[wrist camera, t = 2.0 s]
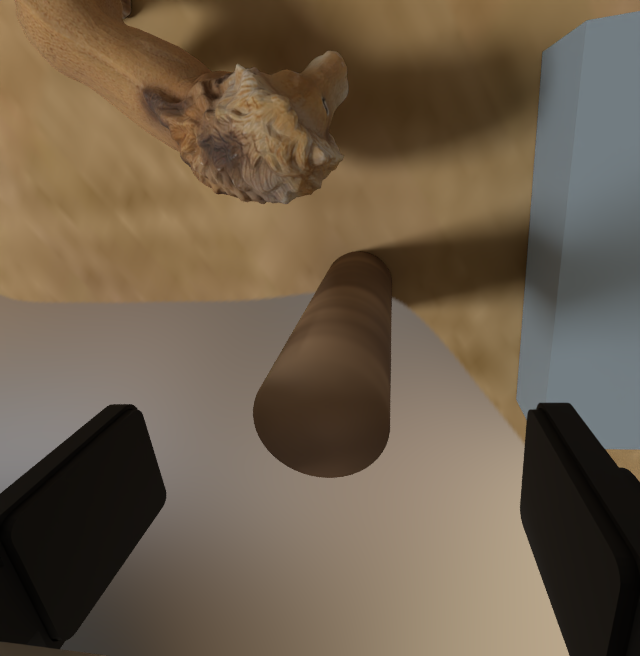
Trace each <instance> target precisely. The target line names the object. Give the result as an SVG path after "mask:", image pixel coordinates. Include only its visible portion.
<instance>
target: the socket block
mask: <svg viewBox="0 0 640 656" xmlns="http://www.w3.org/2000/svg"><path fill="white" fill-rule="evenodd" d="M516 400H517V402H518V404H519V406H520V408H521V410H522V412H523V414H524V416H525V418H526V420H527V414H528V411H529V410H530V409H536V408H537V405H538V404H539V403H570V404H571V405H572V406H573V407H574V409H575V410H576V411H577V413H578V414H579V415H580V417H581V418H582V419H583V421H584V422H585V423H586V425H587V426H588V427H589V429H590V430H591V431H592V433H593V434H594V435H595V437H596V438H597V439H598V441H599V442H600V443H601V445H602V446H603V447H604V449H640V11H638V12H632V13H627V14H621V15H615V16H609V17H604V18H598V19H592V20H587V21H585V22H584V23H582V24H581V25H580V26H578V27H577V28H575V29H574V30H573V31H571V32H570V33H569V34H567V35H566V36H564V37H563V38H562V39H560V40H559V41H557V42H556V43H555V44H553V45H552V46H550V47H549V48H548V49H546V50H545V51H543V53H542V67H541V80H540V93H539V107H538V120H537V133H536V146H535V160H534V173H533V186H532V199H531V213H530V226H529V239H528V253H527V266H526V279H525V292H524V306H523V319H522V332H521V346H520V359H519V372H518V385H517V399H516Z"/></svg>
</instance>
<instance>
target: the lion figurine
mask: <svg viewBox="0 0 640 656" xmlns="http://www.w3.org/2000/svg"><path fill="white" fill-rule="evenodd" d="M15 3H16V15H17V18H18V21H19V23H20V25H21V27H22V29H23V31H24V33H25V35H26V37H27V38H28V40H29V41H30V43H31V44H32V45H33V46H34V47H35V48H36V49H37V50H38V51H39V53H40V54H41V55H42V56H43V57H44V58H45V59H46V60H47V61H48V62H49V63H50V64H51V65H52V66H53V67H54V68H55V69H57V70H58V71H59V72H61V73H63V74H64V75H66V76H68V77H70V78H72V79H74V80H76V81H79V82H82V83H84V84H85V85H87V86H88V87H90V88H91V89H93V90H94V91H96V92H97V93H98V94H100V95H101V96H102V97H104V98H105V99H106V100H107V101H109V102H110V103H111V104H112V105H114V106H115V107H116V108H117V109H119V110H120V111H121V112H122V113H124V114H125V115H126V116H127V117H129V118H130V119H131V120H132V121H134V122H135V123H136V124H137V125H139V126H140V127H141V128H142V129H144V130H145V131H146V132H148V133H149V134H151V135H153V136H154V137H156V138H157V139H159V140H160V141H162V142H163V143H165V144H166V145H168V146H170V147H171V148H173V149H175V150H177V151H179V152H180V155H181V158H182V160H183V161H184V162H185V163H186V164H188V165H189V166H190V167H191V169H192V171H193V173H194V175H195V176H196V177H197V178H198V180H199V181H200V182H202V183H204V184H205V185H206V186H208V187H210V188H212V189H213V191H214V193H216V194H226V195H230V196H234V197H237V198H239V199H240V200H241V201H245V202H249V201H256V202H259V203H261V204H265V203H266V202H271V203H278V202H279V203H284V204H288V203H289V202H290V201H291V200H293V199H295V198H296V197H301V196H304V195H311V194H312V193H313V192H314V191H315V190H317V189H319V188H321V184H322V180H323V179H325V178H326V177H327V176H328V175H329V174H330V172H331V171H333V170H335V169H336V168H337V166H338V164H339V162H340V161H342V160H343V157H344V155H342V154H340V150H339V148H338V146H337V145H336V143H335V139H334V138H333V136H332V135H331V134H330V133H329V127H330V124H331V121H332V118H333V114H334V112H335V110H336V108H337V107H338V106H339V105H340V104H341V103H342V102H343V101H344V100H345V98H346V97H347V94H348V80H347V66H346V64H345V61H344V60H343V58H342V56H341V55H340V54H339V53H338V52H335V51H327V52H326V53H325V54H324V55H322V56H319V57H317V58H315V59H314V60H312V61H311V63H310V64H309V65H308V66H307V67H306V69H305V70H304V71H303V72H301V73H297V72H294V71H291V70H281V71H279V72H277V73H274V74H272V75H269V74H266V73H264V72H260V71H259V70H258V69H257V68H256V67H253V68H251V69H249V68H248V69H245V68H244V67H243V66H241V65H239V64H237V65H236V69H235V71H234V73H233V72H225V71H215V72H211V71H210V70H209V69H208V68H207V67H206V66H205V65H204V64H203V63H202V62H201V61H199V60H198V59H196V58H195V57H193V56H192V55H190V54H189V53H187V52H186V51H184V50H183V49H181V48H180V47H178V46H176V45H173V44H171V43H169V42H167V41H164V40H162V39H160V38H158V37H156V36H153V35H151V34H149V33H147V32H144V31H142V30H140V29H137V28H134V27H130V26H127V25H126V24H125V23H124V22H123V19H124V18H126V17H127V16H128V15H129V14H130V13H131V0H15Z"/></svg>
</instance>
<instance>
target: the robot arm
mask: <svg viewBox="0 0 640 656" xmlns="http://www.w3.org/2000/svg"><path fill="white" fill-rule="evenodd" d="M165 501H166V490H165V486H164V483H163V480H162V476H161V473H160V470H159V467H158V463H157V460H156V456H155V454H154V450H153V447H152V443H151V440H150V437H149V433H148V430H147V427H146V424H145V420H144V417H143V414H142V412H141V411H139V410H137V408H136V407H135V406H134V405H132V404H129V405H128V404H123V405H122V404H121V405H120V404H117V405H116V404H114V405H109V406H107V407H106V408H105V409H103V410H102V411H101V412H100V413H98V414H97V415H96V416H95V417H93V418H92V419H91V420H90V421H89V422H88V423H86V424H85V425H84V426H82V427H81V428H80V429H79V430H78V431H76V432H75V433H74V434H73V435H72V436H70V437H69V438H68V439H67V440H65V441H64V442H63V443H62V444H60V445H59V446H58V447H57V448H56V449H54V450H53V451H52V452H51V453H49V454H48V455H47V456H46V457H45V458H44V459H42V460H41V461H40V462H38V463H37V464H36V465H35V466H34V467H32V468H31V469H30V470H29V471H28V472H26V473H25V474H24V475H22V476H21V477H20V478H19V479H18V480H16V481H15V482H14V483H13V484H12V485H10V486H9V487H8V488H7V489H5V490H4V491H3V492H2V493H1V494H0V656H106V655H99V654H91V653H83V652H76V651H68V650H61V649H60V648H61V646H62V645H63V643H64V642H65V641H66V640H68V639H70V638H71V637H72V636H73V635H74V634H75V633H76V632H77V630H78V628H79V627H80V626H81V624H82V623H83V621H84V620H85V619H86V617H87V616H88V614H89V613H90V611H91V610H92V608H93V607H94V606H95V604H96V602H97V601H98V600H99V598H100V597H101V595H102V594H103V593H104V591H105V590H106V588H107V587H108V585H109V584H110V582H111V581H112V579H113V578H114V576H115V575H116V574H117V572H118V571H119V569H120V568H121V567H122V565H123V564H124V562H125V561H126V559H127V558H128V556H129V555H130V554H131V552H132V550H133V549H134V548H135V546H136V545H137V543H138V542H139V540H140V539H141V538H142V536H143V535H144V533H145V532H146V530H147V529H148V527H149V526H150V525H151V523H152V522H153V520H154V519H155V517H156V516H157V515H158V513H159V512H160V510H161V509H162V507H163V505H164V503H165ZM520 514H521V519H522V524H523V527H524V530H525V533H526V535H527V538H528V541H529V544H530V546H531V549H532V552H533V554H534V557H535V560H536V563H537V566H538V569H539V571H540V574H541V577H542V580H543V583H544V585H545V588H546V591H547V594H548V596H549V599H550V602H551V605H552V608H553V610H554V613H555V616H556V619H557V621H558V624H559V627H560V630H561V633H562V636H563V638H564V641H565V644H566V647H567V649H568V652H569V655H570V656H640V482H639V481H638V479H637V478H636V477H635V476H634V475H633V474H632V473H631V472H630V471H629V470H627V469H625V468H619V467H618V466H617V465H616V463H615V462H614V461H613V459H612V458H611V457H610V455H609V454H608V453H607V451H606V450H605V449H604V447H603V446H602V445H601V443H600V442H599V441H598V439H597V438H596V437H595V435H594V434H593V433H592V431H591V430H590V429H589V427H588V426H587V425H586V423H585V422H584V421H583V419H582V418H581V417H580V415H579V414H578V413H577V411H576V410H575V409H574V407H573V406H572V405H571V404H570V403H539V404H538V405H537V408H536V409H530V410H529V411H528V414H527V425H526V437H525V451H524V463H523V476H522V489H521V502H520Z"/></svg>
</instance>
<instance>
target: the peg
mask: <svg viewBox="0 0 640 656" xmlns="http://www.w3.org/2000/svg"><path fill="white" fill-rule="evenodd" d="M391 307H392V280H391V275H390V272H389V270H388V268H387V266H386V265H385V264H384V263H383V262H382V261H381V260H380V259H379V258H378V257H376V256H374V255H372V254H370V253H366V252H351V253H347V254H345V255H343V256H341V257H339V258H338V259H337V260H336V261H335V262H334V263H333V264H332V265H331V267H330V269H329V270H328V272H327V274H326V275H325V277H324V279H323V281H322V282H321V284H320V286H319V287H318V289H317V291H316V293H315V294H314V297H313V298H312V300H311V301H310V303H309V305H308V306H307V308H306V310H305V312H304V313H303V315H302V317H301V318H300V320H299V322H298V324H297V325H296V327H295V329H294V330H293V332H292V334H291V336H290V337H289V339H288V341H287V343H286V344H285V346H284V348H283V349H282V351H281V353H280V355H279V357H278V358H277V360H276V362H275V363H274V365H273V367H272V368H271V370H270V372H269V374H268V375H267V377H266V379H265V380H264V382H263V384H262V386H261V387H260V389H259V391H258V393H257V395H256V398H255V401H254V407H253V418H254V424H255V428H256V431H257V433H258V436H259V438H260V439H261V441H262V443H263V444H264V445H265V447H266V448H267V450H268V451H269V452H270V453H271V454H272V455H273V456H274V457H275V458H277V459H278V460H279V461H280V462H282V463H283V464H285V465H286V466H288V467H290V468H292V469H294V470H296V471H298V472H301V473H304V474H307V475H311V476H316V477H325V478H334V477H343V476H348V475H351V474H354V473H357V472H359V471H361V470H363V469H365V468H367V467H368V466H369V465H371V464H372V463H373V462H374V461H375V460H376V459H377V458H378V457H379V456H380V455H381V453H382V452H383V450H384V448H385V446H386V444H387V441H388V438H389V433H390V381H391Z"/></svg>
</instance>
